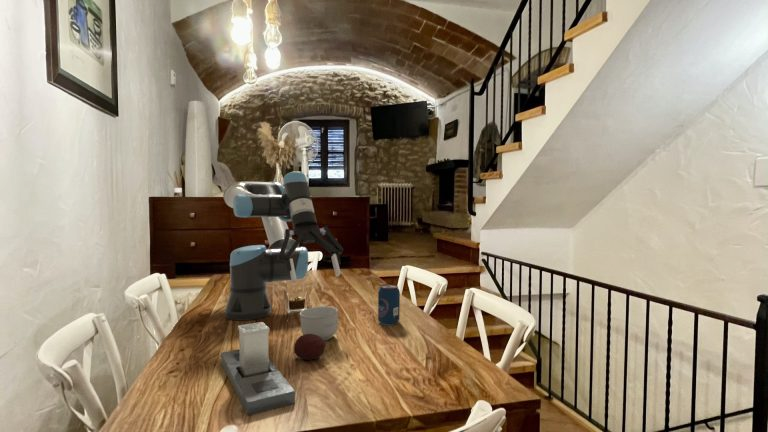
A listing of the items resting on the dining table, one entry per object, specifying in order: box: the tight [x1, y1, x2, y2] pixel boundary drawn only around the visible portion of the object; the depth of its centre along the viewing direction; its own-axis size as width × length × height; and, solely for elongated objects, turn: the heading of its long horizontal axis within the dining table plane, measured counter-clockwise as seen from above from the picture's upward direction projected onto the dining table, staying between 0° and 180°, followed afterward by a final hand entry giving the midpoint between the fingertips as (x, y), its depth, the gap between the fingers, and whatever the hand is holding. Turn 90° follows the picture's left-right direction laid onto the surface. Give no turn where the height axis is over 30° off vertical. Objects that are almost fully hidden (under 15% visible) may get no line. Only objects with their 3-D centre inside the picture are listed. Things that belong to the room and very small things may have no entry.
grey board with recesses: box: [220, 348, 296, 416], centre depth 89 cm, size 28×9×3 cm, turn 31°
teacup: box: [299, 304, 339, 341], centre depth 119 cm, size 14×11×8 cm
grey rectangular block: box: [237, 321, 270, 378], centre depth 89 cm, size 5×5×12 cm
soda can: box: [377, 283, 401, 326], centre depth 132 cm, size 7×7×12 cm
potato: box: [293, 334, 326, 360], centre depth 102 cm, size 7×8×6 cm
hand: (316, 278), depth 121 cm, fingers open, 13 cm apart
